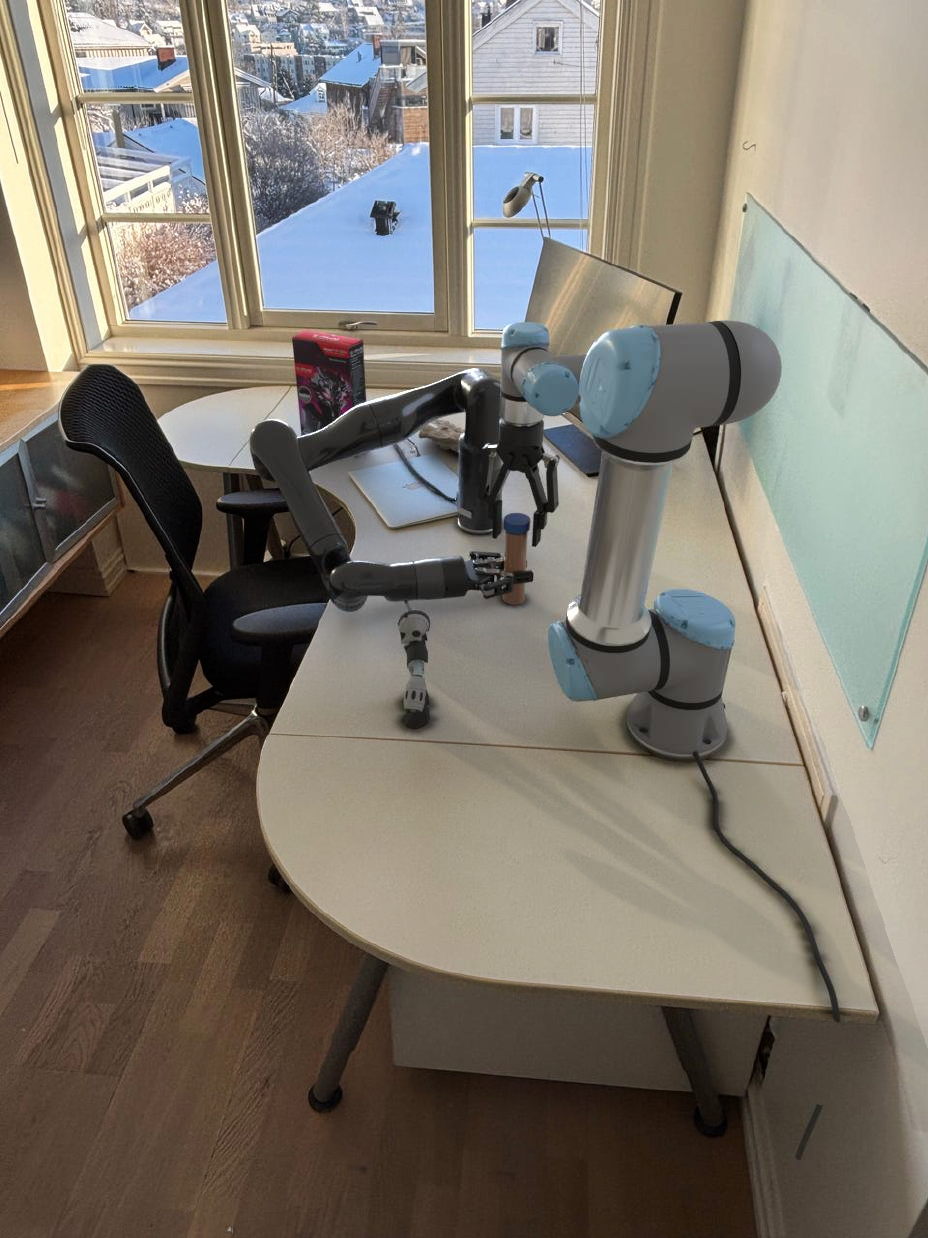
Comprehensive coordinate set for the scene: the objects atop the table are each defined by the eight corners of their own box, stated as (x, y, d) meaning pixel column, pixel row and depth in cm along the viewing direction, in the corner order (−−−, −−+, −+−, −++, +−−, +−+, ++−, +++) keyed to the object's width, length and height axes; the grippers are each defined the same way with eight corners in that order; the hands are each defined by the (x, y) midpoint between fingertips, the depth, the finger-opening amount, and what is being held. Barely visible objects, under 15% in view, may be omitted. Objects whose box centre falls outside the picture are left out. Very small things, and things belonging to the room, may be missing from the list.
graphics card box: (299, 442, 234) (289, 335, 219) (315, 433, 239) (306, 328, 224) (356, 456, 228) (349, 346, 213) (371, 446, 233) (365, 338, 218)
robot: (432, 752, 138) (431, 644, 127) (400, 753, 138) (395, 645, 127) (430, 673, 154) (428, 571, 143) (401, 674, 154) (397, 571, 143)
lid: (498, 529, 165) (498, 519, 164) (513, 519, 169) (513, 510, 168) (520, 536, 163) (520, 527, 162) (534, 526, 166) (535, 517, 165)
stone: (402, 443, 226) (407, 419, 224) (421, 434, 240) (426, 412, 237) (483, 468, 223) (489, 444, 220) (497, 458, 236) (503, 435, 234)
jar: (509, 591, 177) (512, 514, 167) (528, 597, 175) (532, 520, 166) (498, 601, 174) (501, 523, 164) (518, 607, 172) (521, 529, 163)
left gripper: (432, 576, 176) (519, 567, 179) (445, 616, 165) (538, 606, 168) (432, 541, 172) (521, 533, 175) (445, 580, 161) (540, 571, 163)
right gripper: (585, 419, 154) (574, 540, 167) (475, 402, 160) (473, 520, 173) (572, 435, 148) (562, 559, 161) (458, 417, 155) (457, 537, 167)
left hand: (529, 569), depth 171 cm, fingers closed on jar, 4 cm apart
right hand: (516, 538), depth 167 cm, fingers open, 7 cm apart
